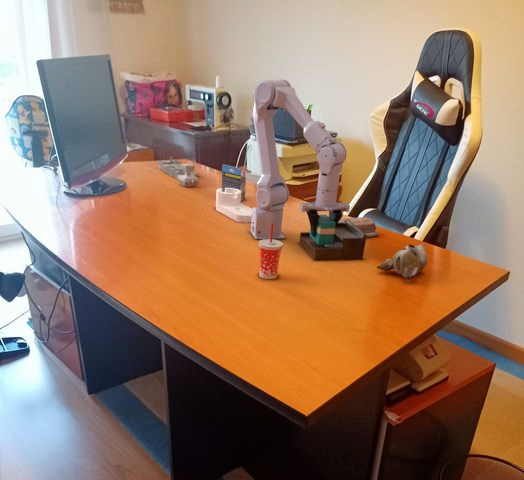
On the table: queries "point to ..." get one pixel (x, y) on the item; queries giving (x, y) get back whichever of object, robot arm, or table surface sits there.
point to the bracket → (232, 205)
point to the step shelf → (337, 243)
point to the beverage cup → (269, 256)
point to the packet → (324, 231)
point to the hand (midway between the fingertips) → (321, 235)
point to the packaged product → (364, 225)
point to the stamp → (187, 176)
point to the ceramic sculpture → (407, 261)
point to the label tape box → (233, 180)
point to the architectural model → (172, 167)
